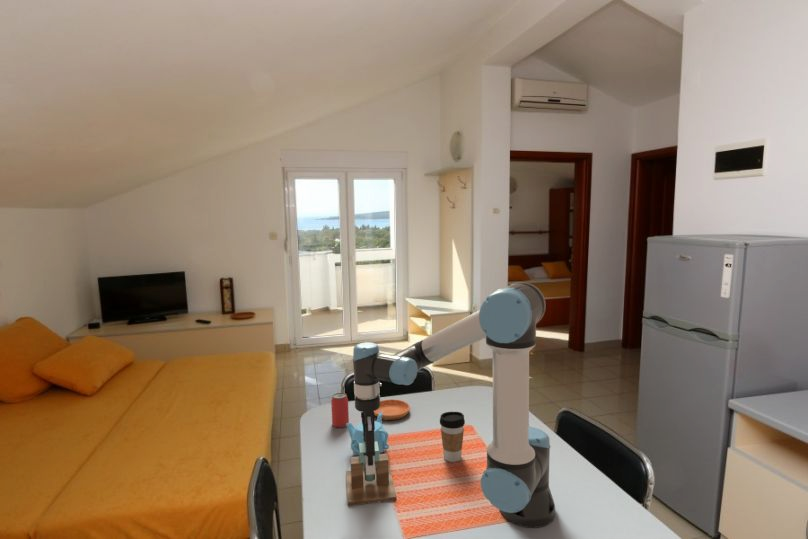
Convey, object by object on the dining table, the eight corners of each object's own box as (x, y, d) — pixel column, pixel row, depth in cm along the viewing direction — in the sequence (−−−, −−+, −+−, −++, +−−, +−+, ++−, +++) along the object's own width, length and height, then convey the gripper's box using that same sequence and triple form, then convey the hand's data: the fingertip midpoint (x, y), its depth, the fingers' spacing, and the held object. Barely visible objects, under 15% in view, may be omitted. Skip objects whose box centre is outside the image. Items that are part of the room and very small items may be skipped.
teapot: (346, 444, 162) (344, 415, 160) (383, 439, 165) (382, 409, 164) (352, 467, 147) (351, 435, 146) (393, 460, 151) (392, 429, 149)
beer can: (352, 422, 179) (351, 394, 177) (341, 429, 173) (340, 400, 172) (339, 419, 182) (338, 390, 181) (328, 425, 177) (327, 396, 175)
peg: (380, 482, 134) (379, 450, 133) (361, 484, 133) (360, 452, 132) (378, 472, 140) (377, 441, 138) (360, 474, 139) (359, 443, 137)
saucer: (392, 402, 198) (392, 395, 198) (418, 413, 186) (417, 406, 186) (364, 413, 187) (363, 406, 187) (389, 426, 176) (388, 419, 175)
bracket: (396, 499, 130) (395, 470, 129) (348, 505, 128) (347, 476, 127) (389, 469, 146) (388, 443, 145) (346, 473, 144) (345, 447, 142)
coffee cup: (464, 465, 147) (463, 421, 145) (438, 462, 149) (438, 419, 147) (465, 451, 155) (465, 410, 154) (441, 449, 157) (441, 408, 155)
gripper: (383, 406, 125) (385, 484, 128) (376, 382, 143) (378, 450, 146) (356, 409, 123) (359, 487, 126) (353, 384, 142) (355, 453, 145)
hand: (369, 467), depth 136 cm, fingers closed on peg, 6 cm apart
